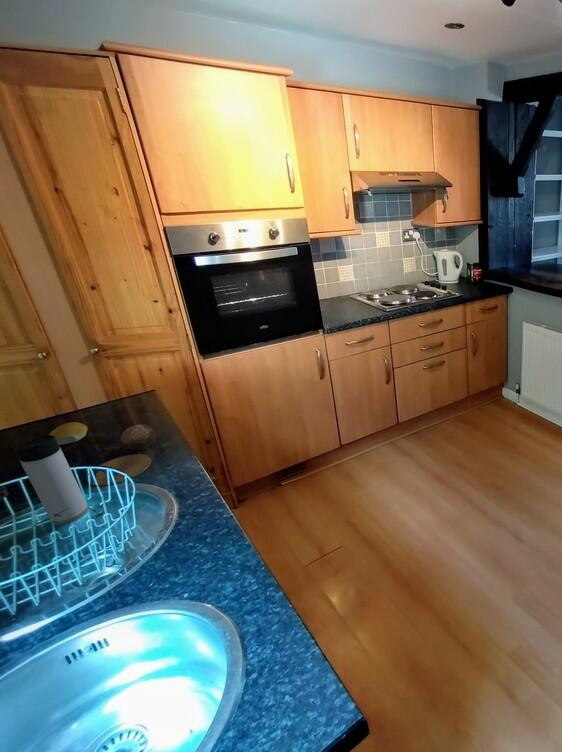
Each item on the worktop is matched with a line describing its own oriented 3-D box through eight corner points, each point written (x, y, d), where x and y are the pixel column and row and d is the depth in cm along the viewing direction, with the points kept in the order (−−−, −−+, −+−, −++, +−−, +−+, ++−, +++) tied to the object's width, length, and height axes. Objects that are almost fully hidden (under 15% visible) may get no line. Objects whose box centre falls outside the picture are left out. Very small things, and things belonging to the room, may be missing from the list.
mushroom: (115, 435, 126) (120, 420, 124) (150, 433, 133) (156, 420, 130) (118, 458, 123) (125, 443, 120) (154, 455, 129) (161, 441, 126)
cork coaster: (80, 492, 109) (80, 490, 109) (94, 463, 119) (94, 462, 119) (146, 476, 115) (146, 474, 115) (154, 450, 125) (154, 449, 125)
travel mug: (63, 528, 98) (24, 451, 90) (45, 521, 100) (4, 445, 92) (96, 510, 103) (62, 435, 95) (78, 503, 105) (43, 430, 97)
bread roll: (89, 427, 136) (84, 415, 135) (86, 440, 130) (80, 428, 128) (52, 435, 132) (47, 423, 130) (47, 449, 125) (41, 437, 124)
